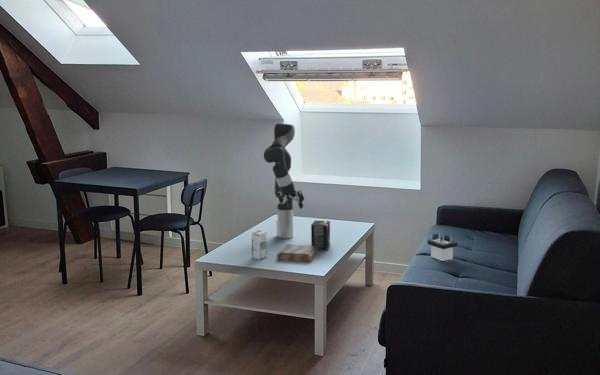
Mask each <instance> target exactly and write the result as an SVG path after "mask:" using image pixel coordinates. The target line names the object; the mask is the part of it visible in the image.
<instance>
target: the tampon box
mask: <svg viewBox="0 0 600 375" xmlns="http://www.w3.org/2000/svg"><path fill="white" fill-rule="evenodd" d="M310 226H311V227H310V230H311V233H310V234H311V235H310V237H311V240H310V241H311V246H317V251H326V252H327V251H328V250H329V248H330V246H331V244H330V243H331V221H330V220H314V221H313V222H312V223H311V225H310Z"/></svg>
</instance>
